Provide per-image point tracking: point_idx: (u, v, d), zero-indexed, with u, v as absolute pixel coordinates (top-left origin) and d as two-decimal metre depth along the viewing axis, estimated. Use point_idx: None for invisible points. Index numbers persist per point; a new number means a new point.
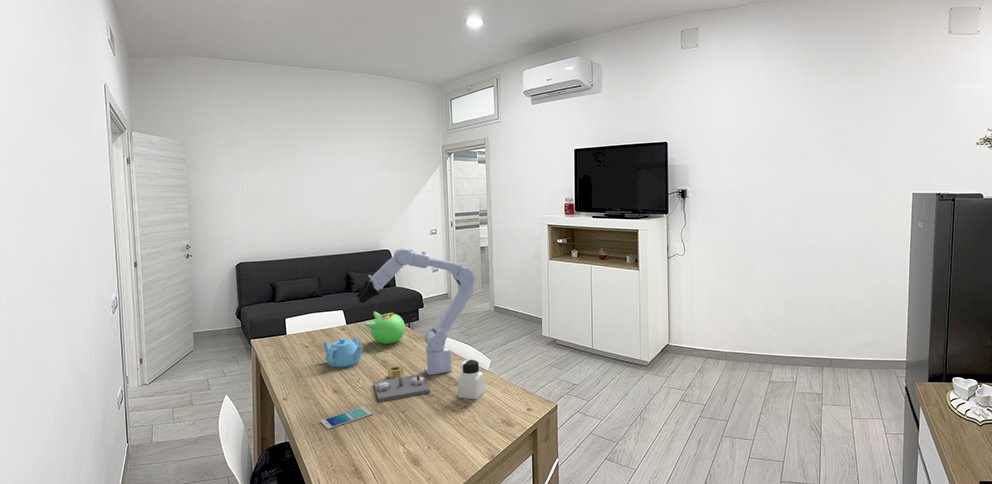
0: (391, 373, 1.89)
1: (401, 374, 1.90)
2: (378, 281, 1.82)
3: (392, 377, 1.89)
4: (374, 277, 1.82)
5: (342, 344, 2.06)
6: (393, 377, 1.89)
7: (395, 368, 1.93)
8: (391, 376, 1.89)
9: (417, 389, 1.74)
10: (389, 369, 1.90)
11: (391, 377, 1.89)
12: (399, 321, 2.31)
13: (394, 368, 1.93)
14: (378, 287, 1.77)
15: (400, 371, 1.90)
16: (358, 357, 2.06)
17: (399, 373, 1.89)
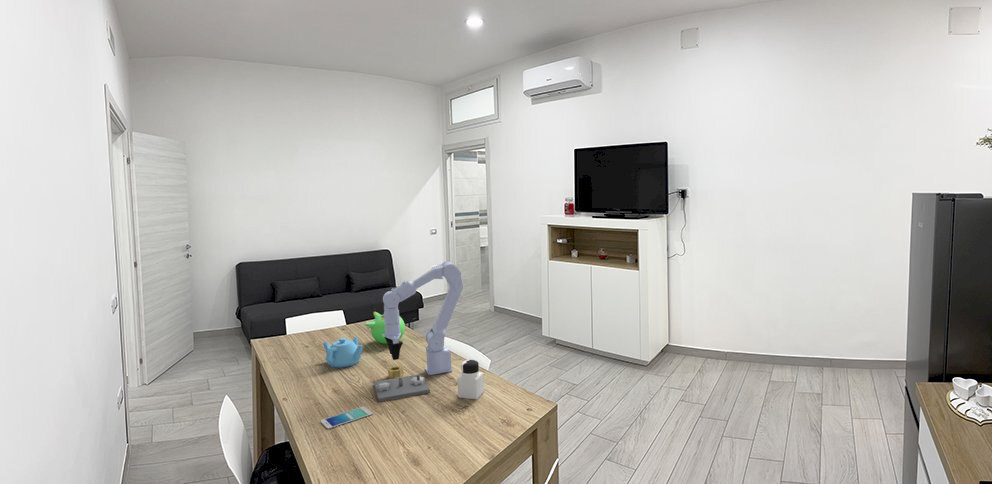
0: (391, 373, 1.89)
1: (401, 374, 1.90)
2: (392, 334, 1.87)
3: (392, 377, 1.89)
4: (387, 334, 1.87)
5: (342, 344, 2.06)
6: (393, 377, 1.89)
7: (395, 368, 1.93)
8: (391, 376, 1.89)
9: (417, 389, 1.74)
10: (389, 369, 1.90)
11: (391, 377, 1.89)
12: None
13: (394, 368, 1.93)
14: (396, 340, 1.83)
15: (400, 371, 1.90)
16: (358, 357, 2.06)
17: (399, 373, 1.89)
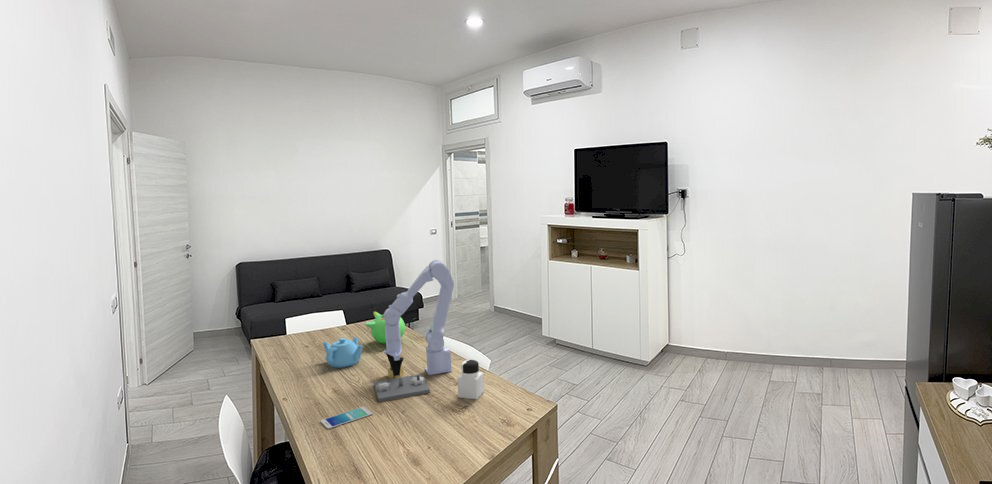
0: (391, 373, 1.89)
1: (401, 374, 1.90)
2: (393, 350, 1.88)
3: (392, 377, 1.89)
4: (388, 350, 1.88)
5: (342, 344, 2.06)
6: (393, 377, 1.89)
7: None
8: (391, 376, 1.89)
9: (417, 389, 1.74)
10: (389, 369, 1.90)
11: (391, 377, 1.89)
12: (399, 321, 2.31)
13: None
14: (397, 357, 1.84)
15: (400, 371, 1.90)
16: (358, 357, 2.06)
17: None
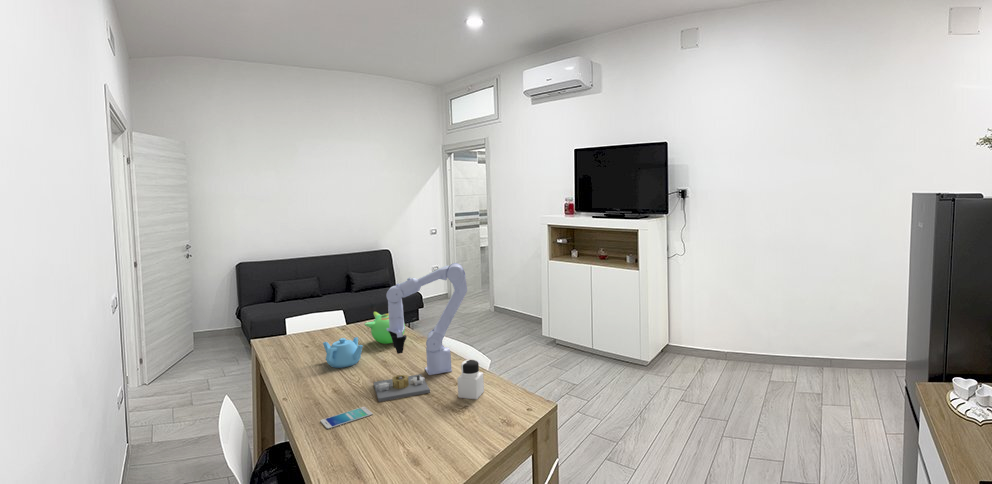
0: (396, 383, 1.76)
1: (406, 384, 1.77)
2: (396, 328, 1.90)
3: (397, 387, 1.76)
4: (391, 328, 1.90)
5: (342, 344, 2.06)
6: (398, 387, 1.76)
7: None
8: (396, 386, 1.76)
9: (417, 389, 1.74)
10: (394, 378, 1.78)
11: (396, 387, 1.76)
12: None
13: None
14: (400, 334, 1.86)
15: (405, 380, 1.77)
16: (358, 357, 2.06)
17: (404, 383, 1.76)
